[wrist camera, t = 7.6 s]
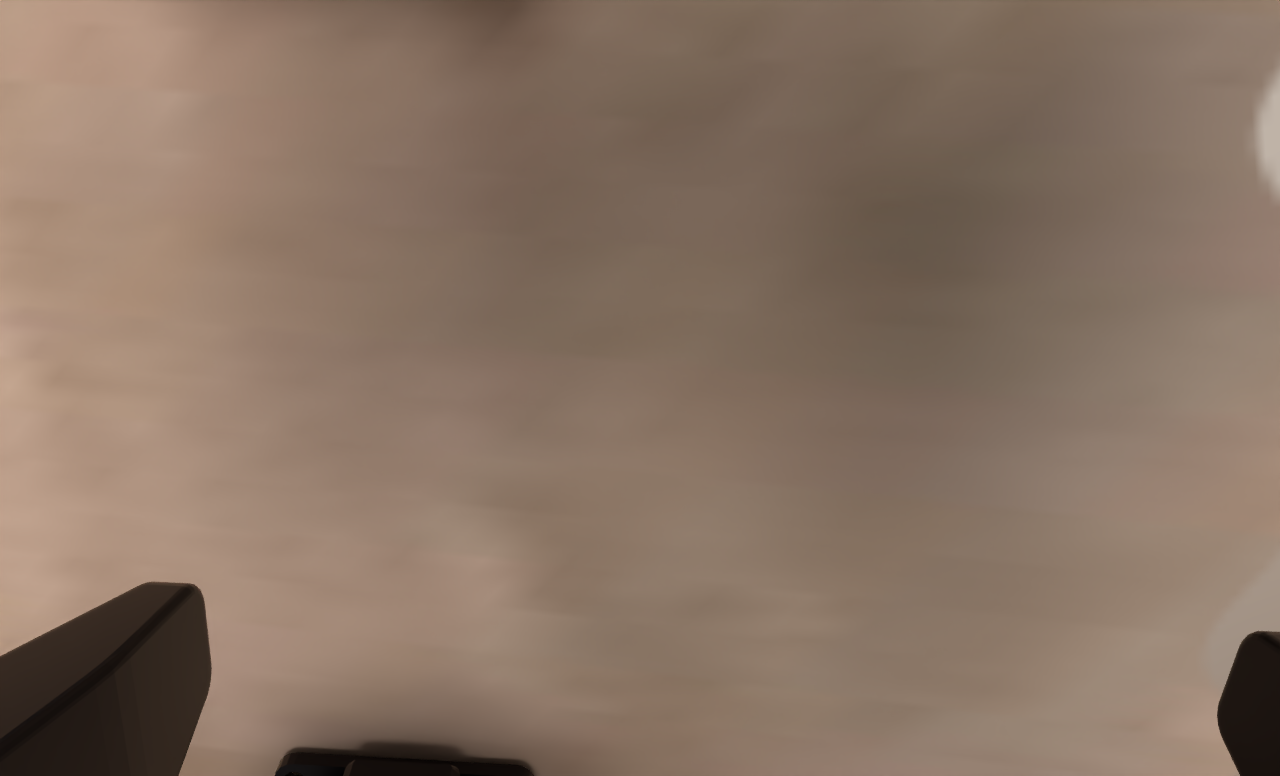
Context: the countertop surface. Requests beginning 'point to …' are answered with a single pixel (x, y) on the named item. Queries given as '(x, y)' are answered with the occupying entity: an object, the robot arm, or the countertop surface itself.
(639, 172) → the countertop surface
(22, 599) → the countertop surface
